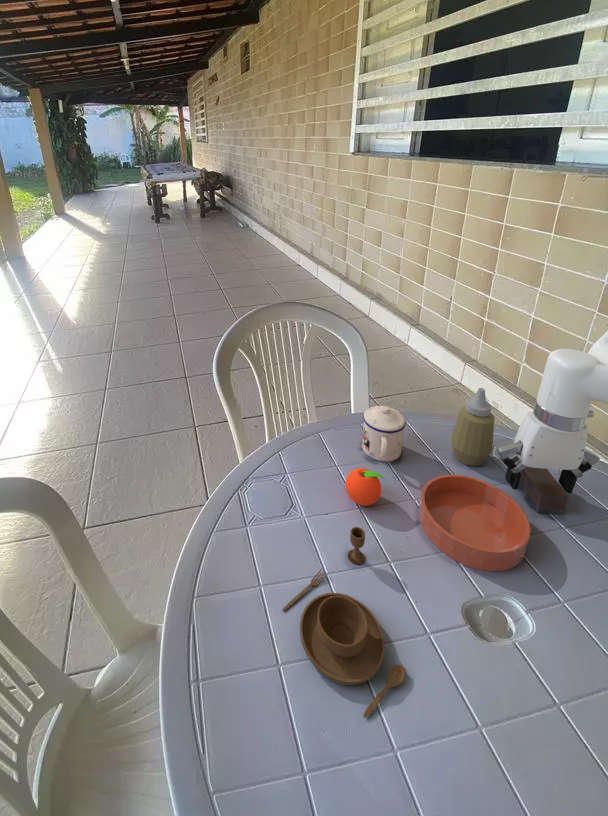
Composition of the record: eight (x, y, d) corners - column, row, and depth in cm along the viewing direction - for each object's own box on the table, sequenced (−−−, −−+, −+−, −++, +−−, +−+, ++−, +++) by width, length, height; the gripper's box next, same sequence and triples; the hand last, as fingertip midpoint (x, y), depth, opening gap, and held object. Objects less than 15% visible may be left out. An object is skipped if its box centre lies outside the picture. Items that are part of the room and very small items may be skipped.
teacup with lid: (361, 434, 105) (363, 394, 100) (400, 439, 102) (405, 399, 98) (360, 468, 94) (363, 425, 90) (404, 475, 91) (410, 431, 87)
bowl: (498, 494, 85) (502, 477, 84) (545, 576, 69) (552, 556, 68) (408, 489, 88) (410, 472, 86) (434, 566, 72) (438, 547, 70)
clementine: (379, 486, 89) (381, 459, 86) (390, 513, 82) (393, 485, 80) (340, 487, 89) (342, 460, 87) (348, 514, 83) (350, 486, 80)
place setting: (269, 616, 66) (269, 591, 64) (351, 545, 77) (353, 520, 74) (364, 733, 53) (367, 705, 50) (447, 626, 63) (453, 600, 61)
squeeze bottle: (443, 444, 99) (454, 378, 93) (480, 446, 98) (493, 379, 92) (455, 469, 92) (468, 399, 85) (496, 471, 91) (512, 401, 84)
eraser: (537, 479, 88) (542, 462, 87) (563, 514, 80) (568, 496, 78) (514, 478, 89) (518, 461, 87) (537, 513, 81) (542, 495, 79)
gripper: (597, 404, 80) (574, 475, 86) (498, 400, 82) (482, 469, 88) (627, 430, 73) (599, 504, 79) (517, 424, 75) (499, 497, 82)
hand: (537, 486), depth 84 cm, fingers open, 9 cm apart
